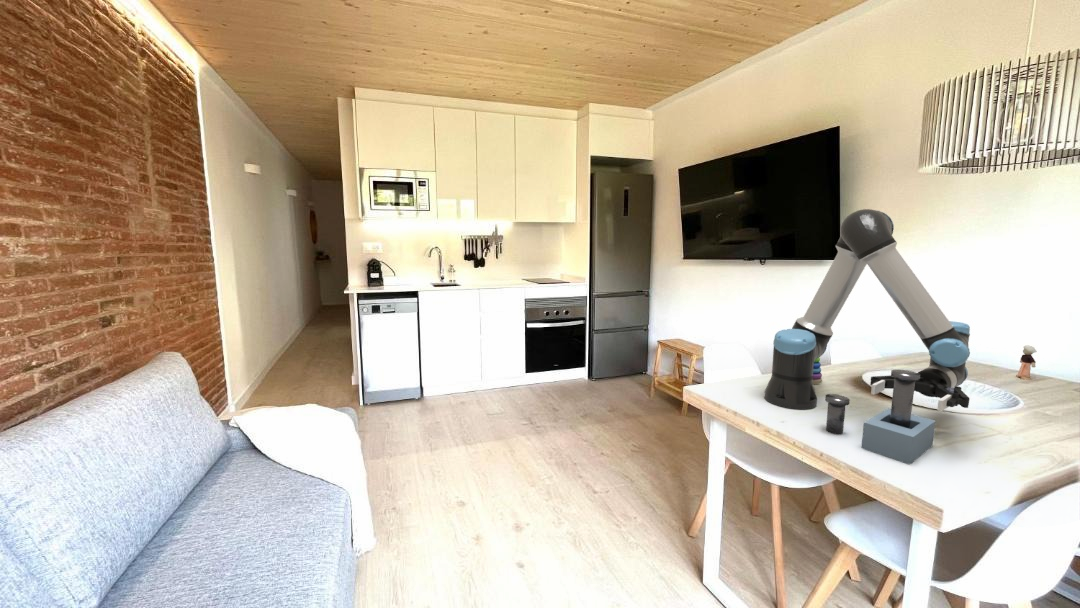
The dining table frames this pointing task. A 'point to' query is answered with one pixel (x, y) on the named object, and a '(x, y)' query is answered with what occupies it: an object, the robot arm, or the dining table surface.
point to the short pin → (836, 413)
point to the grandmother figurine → (1026, 362)
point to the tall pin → (903, 397)
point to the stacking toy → (817, 372)
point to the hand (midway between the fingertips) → (904, 397)
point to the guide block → (898, 437)
